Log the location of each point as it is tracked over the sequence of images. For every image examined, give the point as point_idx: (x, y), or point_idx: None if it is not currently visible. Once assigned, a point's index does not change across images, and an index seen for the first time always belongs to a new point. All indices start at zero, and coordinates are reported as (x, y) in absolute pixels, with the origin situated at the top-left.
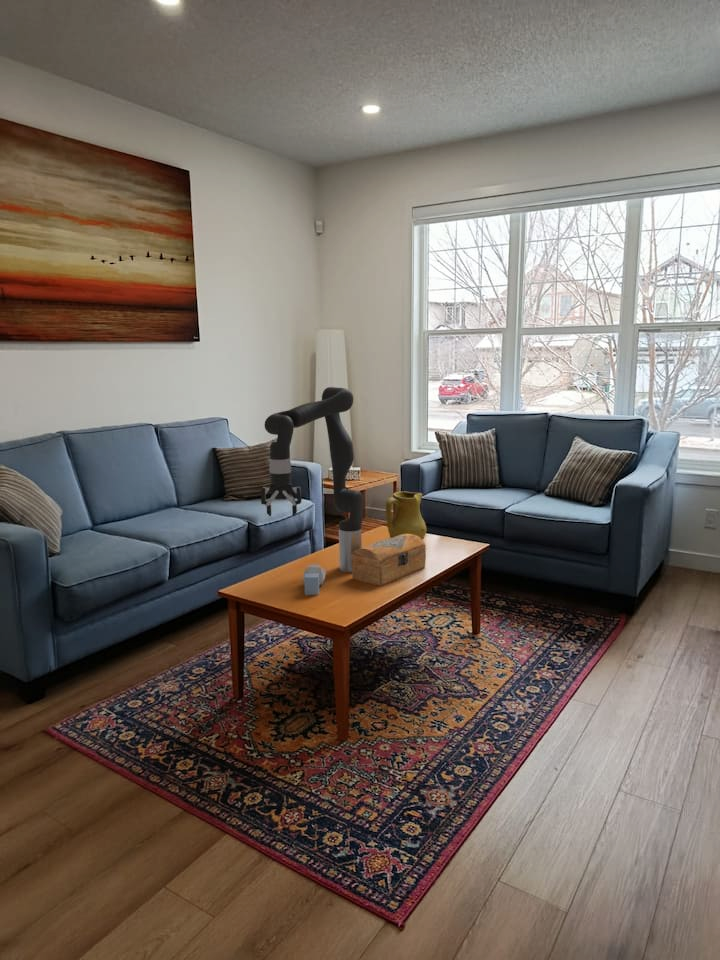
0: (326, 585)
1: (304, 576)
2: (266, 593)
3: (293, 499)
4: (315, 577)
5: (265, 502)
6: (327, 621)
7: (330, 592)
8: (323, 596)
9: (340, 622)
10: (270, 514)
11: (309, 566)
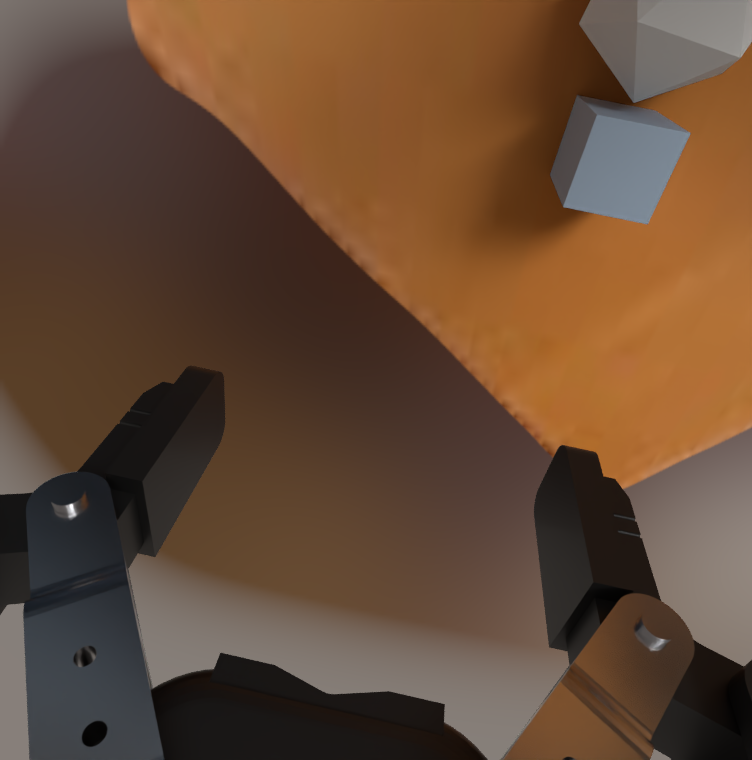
0: None
1: (599, 35)
2: (350, 94)
3: (630, 721)
4: (631, 220)
5: (20, 583)
6: None
7: (706, 155)
8: None
9: None
10: (213, 450)
11: (664, 15)
